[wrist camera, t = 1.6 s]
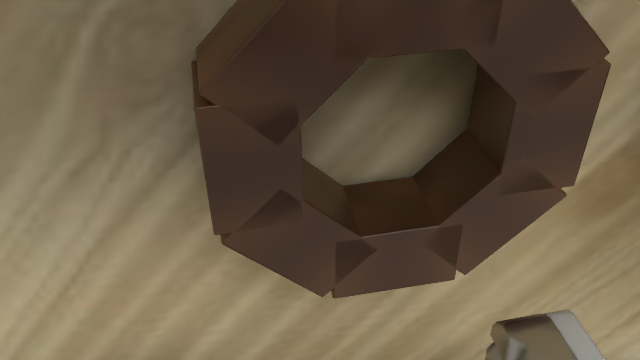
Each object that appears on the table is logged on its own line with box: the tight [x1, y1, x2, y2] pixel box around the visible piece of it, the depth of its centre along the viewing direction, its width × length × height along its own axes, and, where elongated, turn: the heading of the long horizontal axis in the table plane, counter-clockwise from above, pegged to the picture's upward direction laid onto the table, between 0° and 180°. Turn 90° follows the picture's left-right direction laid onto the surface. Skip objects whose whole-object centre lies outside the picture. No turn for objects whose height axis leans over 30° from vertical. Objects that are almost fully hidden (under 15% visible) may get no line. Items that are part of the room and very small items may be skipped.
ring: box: [192, 0, 611, 298], centre depth 18 cm, size 11×11×3 cm
